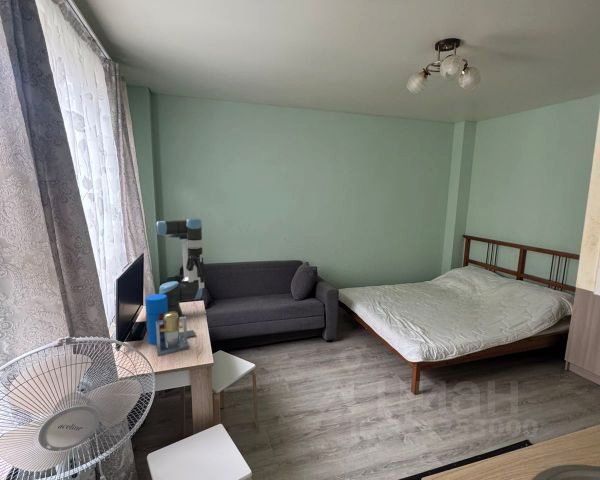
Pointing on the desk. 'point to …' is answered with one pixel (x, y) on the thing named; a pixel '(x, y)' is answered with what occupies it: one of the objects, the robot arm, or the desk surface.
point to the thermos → (155, 316)
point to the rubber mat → (189, 334)
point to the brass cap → (171, 322)
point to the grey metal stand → (172, 340)
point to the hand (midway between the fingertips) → (196, 284)
